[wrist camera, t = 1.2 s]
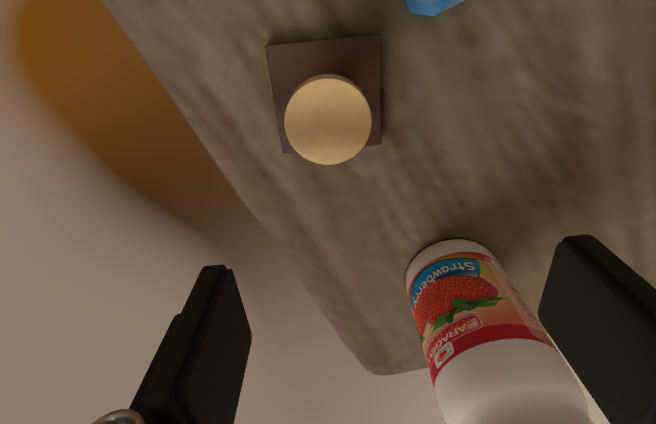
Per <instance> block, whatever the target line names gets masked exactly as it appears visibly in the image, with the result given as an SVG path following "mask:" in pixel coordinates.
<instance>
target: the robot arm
mask: <svg viewBox="0 0 656 424" xmlns="http://www.w3.org/2000/svg"><path fill="white" fill-rule="evenodd" d="M538 317H539V320H540V322H541V323H542V325H543V326H544V328H545V329H546V331H547V332H548V334H549V335H550V336H551V338H552V339H553V341H554V342H555V343H556V345H557V347H558V348H559V350H560V351H561V352H562V354H563V355H564V357H565V358H566V360H567V361H568V363H569V364H570V366H571V367H572V368H573V370H574V371H575V373H576V374H577V376H578V377H579V379H580V380H581V382H582V383H583V384H584V386H585V387H586V389H587V390H588V391H589V393H590V395H591V396H592V398H593V399H594V400H595V402H596V403H597V405H598V406H599V408H600V409H601V411H602V412H603V413H604V415H605V416H606V418H607V419H608V421H609V422H610V424H656V289H655V288H654V287H652V286H651V285H650V284H649V283H648V282H647V281H645V280H644V279H643V278H642V277H641V276H639V275H638V274H637V273H636V272H635V271H634V270H632V269H631V268H630V267H629V266H628V265H626V264H625V263H624V262H623V261H622V260H621V259H619V258H618V257H617V256H616V255H615V254H614V253H612V252H611V251H610V250H609V249H608V248H606V247H605V246H604V245H603V244H602V243H601V242H599V241H598V240H597V239H596V238H595V237H593V236H591V235H577V236H567V237H565V238H564V239H563V240H562V242H559V243H558V244H557V246H556V250H555V253H554V257H553V260H552V264H551V267H550V270H549V274H548V277H547V281H546V284H545V287H544V291H543V294H542V298H541V301H540V304H539V308H538ZM251 337H252V336H251V329H250V326H249V323H248V320H247V316H246V313H245V310H244V306H243V303H242V300H241V297H240V293H239V290H238V287H237V283H236V280H235V277H234V274H233V271H232V269H227V268H226V266H225V265H212V266H205V267H203V268H202V270H201V272H200V274H199V276H198V278H197V280H196V283H195V285H194V287H193V289H192V291H191V293H190V295H189V298H188V300H187V302H186V304H185V306H184V308H183V310H182V312H181V314H177V315H176V316H175V317H174V318H173V320H172V322H171V324H170V326H169V328H168V330H167V332H166V334H165V336H164V338H163V340H162V342H161V344H160V346H159V348H158V350H157V352H156V354H155V357H154V358H153V360H152V362H151V364H150V367H149V369H148V371H147V373H146V375H145V377H144V379H143V381H142V383H141V385H140V387H139V389H138V391H137V393H136V396H135V397H134V399H133V402H132V403H131V405H130V407H129V409H121V410H117V411H113V412H110V413H108V414H106V415H105V416H103V417H101V418H99V419H98V420H96V421H95V422H94V423H92V424H234V419H235V415H236V410H237V405H238V401H239V396H240V392H241V387H242V383H243V378H244V373H245V369H246V365H247V360H248V355H249V351H250V346H251V340H252V338H251Z"/></svg>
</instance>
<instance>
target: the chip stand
mask: <svg viewBox="0 0 656 424" xmlns="http://www.w3.org/2000/svg"><path fill="white" fill-rule="evenodd" d="M265 48H266V54H267V60H268V66H269V72H270V78H271V84H272V90H273V96H274V102H275V108H276V114H277V120H278V126H279V132H280V138H281V144H282V150H283V153H292V152H296V150H295V149H294V148H293V147H292V145H291V144H290V142H289V140H288V138H287V135H286V132H285V127H284V116H285V111H286V107H287V104H288V102H289V99H290V97H291V95H292V94H293V92H294V91H295V89H296V88H297V87H298V86H299V85H300V84H301V83H302V82H304V81H305V80H307V79H309V78H311V77H313V76H317V75H321V74H335V75H339V76H342V77H345V78H347V79H349V80H350V81H352V82H353V83H355V84H356V85H357V86H358V87H359V88H360V90H361V91H362V92H363V94H364V96H365V97H366V100H367V102H368V104H369V107H370V110H371V115H372V127H371V132H370V135H369V138H368V140H367V142H366V144H365V145H364V146H372V145H381V71H380V34H378V33H374V34H364V35H354V36H344V37H334V38H324V39H314V40H304V41H294V42H284V43H274V44H267V45H266V46H265Z"/></svg>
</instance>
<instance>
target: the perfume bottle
mask: <svg viewBox="0 0 656 424" xmlns="http://www.w3.org/2000/svg"><path fill="white" fill-rule="evenodd" d="M463 1H465V0H406V2H407V6H408V9H409V12H410V14H419V15H428V16H435V15H437V14H439V13H441V12H443V11H445V10H447V9H449V8H451V7H453V6H455V5H457V4H459V3H461V2H463Z"/></svg>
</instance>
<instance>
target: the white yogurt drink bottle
mask: <svg viewBox="0 0 656 424" xmlns="http://www.w3.org/2000/svg"><path fill="white" fill-rule="evenodd" d="M406 290H407V294H408V298H409V301H410V305H411V308H412V312H413V315H414V319H415V322H416V326H417V329H418V333H419V336H420V340H421V343H422V347H423V350H424V354H425V357H426V361H427V364H428V368H429V371H430V375H431V379H432V382H433V386H434V389H435V394H436V398H437V401H438V404H439V406H440V409H441V413H442V415H443V418H444V421H445V423H446V424H594V423H593V422H592V420H591V418H590V416H589V411H588V406H587V402H586V398H585V396H584V393H583V391H582V389H581V387H580V386H579V384H578V382H577V380H576V378H575V377H574V375H573V373H572V371H571V370H570V368H569V366H568V365H567V363H566V362H565V360H564V359H563V357H562V356H561V354H560V353H559V352H558V350H557V349H556V347H555V346H554V344H553V343H552V341H551V340H550V339H549V337H548V335H547V334H546V332H545V331H544V329H543V328H542V326H541V325H540V323H539V322H538V320H537V319H536V317H535V316H534V314H533V313H532V311H531V310H530V308H529V307H528V305H527V304H526V302H525V301H524V300H523V298H522V297H521V295H520V294H519V292H518V291H517V289H516V288H515V286H514V285H513V283H512V282H511V280H510V279H509V277H508V276H507V274H506V273H505V271H504V270H503V268H502V267H501V265H500V264H499V262H498V261H497V259H496V258H495V257H494V255H493V254H492V253H491V252H490V251H489V250H488V249H486V248H485V247H483V246H482V245H480V244H478V243H476V242H473V241H470V240H464V239H452V240H445V241H441V242H438V243H436V244H433V245H431V246H429V247H427V248H426V249H424V250H423V251H421V252H420V253H419V254H418V255H417V256H416V257H415V258H414V259H413V261H412V262H411V264H410V265H409V268H408V270H407V273H406Z"/></svg>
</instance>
